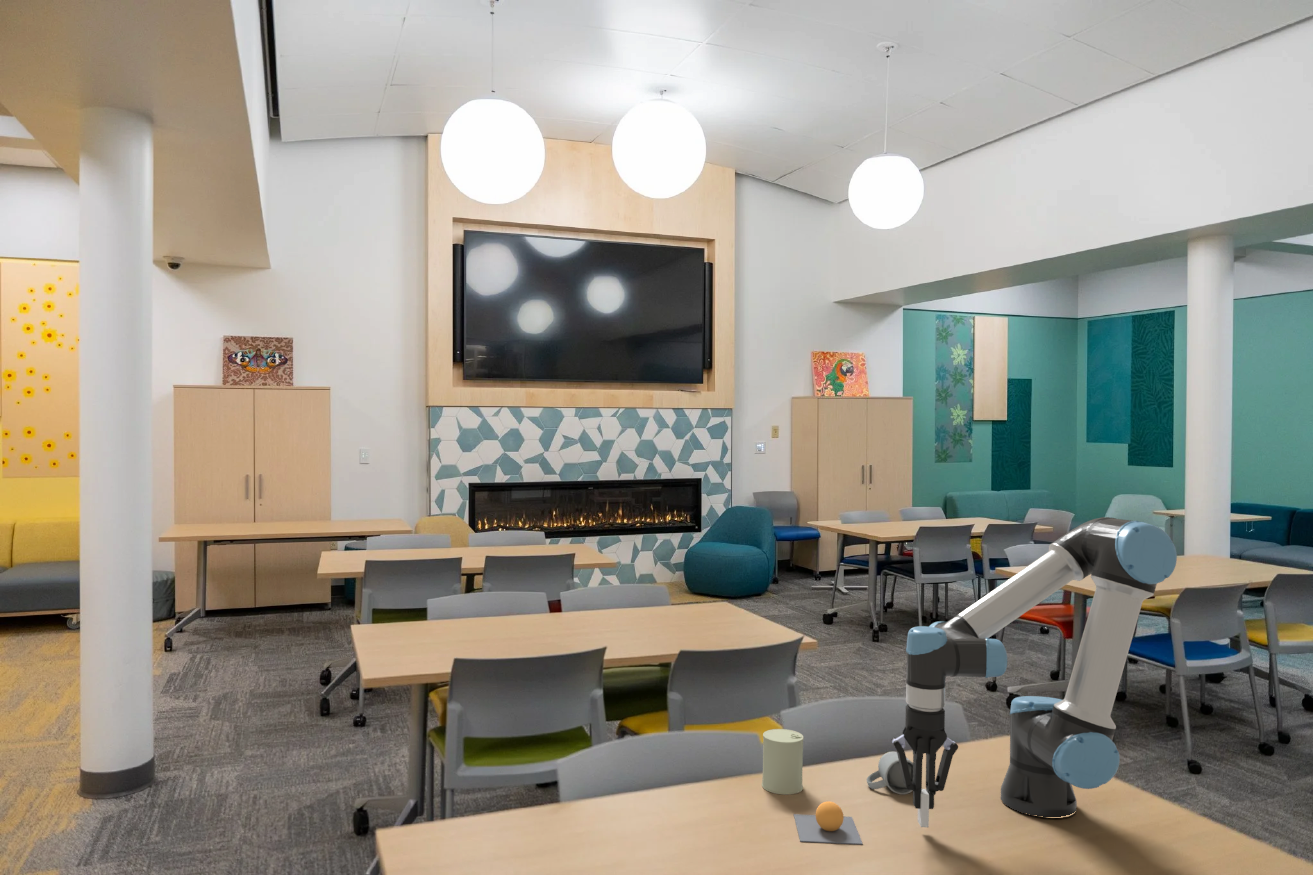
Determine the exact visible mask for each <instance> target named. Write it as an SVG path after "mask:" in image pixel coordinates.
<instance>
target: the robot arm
mask: <svg viewBox="0 0 1313 875" xmlns="http://www.w3.org/2000/svg"><path fill="white" fill-rule="evenodd" d="M1177 554H1178V553H1177V549H1176V546H1175V544H1174V542H1173V541H1172V539H1171V536H1169V534H1168V533H1167V532H1166V531H1165V530H1164V529H1163V528H1161V527H1159V526H1156V525H1155V524H1150V523H1147V522H1144V521H1139V520H1129V519H1122V518H1121V519H1120V518H1114V517H1109V516H1108V517H1107V516H1105V517H1099V518H1097V517H1096V518H1093V519H1091V520H1088V521H1085V522H1084V523H1081V524H1080V525H1078V526H1077V527H1075V528H1073V529H1070V530H1069V531H1068V532H1066V533H1065V534H1063V535H1062V536H1060V537H1059V538H1058V539H1056V540H1055V541H1053V542H1051V543H1050V544H1049V545H1048V551H1047V552H1046V553H1044V554H1043V555H1041V556H1040V557H1039V558H1037V559H1036V560H1034V561H1033V562H1031V563H1030V564H1029V565H1026V567H1024V568H1023V569H1021V570H1020V571H1019V572H1017V573H1016V574H1014V575H1013V576H1011V577H1010V578H1008V579H1007V580H1005V581H1004V582H1002V583H1000V585H998V586H997V587H995V588H994V589H993V590H991V591H989V592H988V593H986V595H984V596H983V597H981V598H980V599H979V600H977V601H976V602H975V601H974V603H972V604H970V606H968V607H967V608H965V609H963V610H962V611H961V612H960V613H958V614H957V615H954V616H953V617H952V618H951V619H949V620H947V621H943V620H942V621H935V622H932V623H931V624H930V625H929V626H926V625H925V626H924V625H922V626H914V627H912V628H910V629H909V630H908V632H907V638H906V648H905V652H906V678H905V679H906V681H905V682H906V684H905V685H906V686H905V702H906V703H907V704H906V705H905V718H904V719H905V721H904V723H905V725H904V728H903V730H902V734H901V735H900V736H897V737H892V738H891V741H890V742H891V743H892V744H893V747H894V748H895V750H896V752H897V755H898V759H899V764H900V768H901V773H902V777H903V782H904V784H905V786H906V788H907V789H908V790H913V791H912V804H913V807H914V809H917V823H918V825H919V826H920V828H929V825H930V822H929V821H930V819H929V818H930V815H929V814H930V813H929V812H930V810H934V809H935V808H934V807H935V795H936V794H937V792H943V791H944V790H945V787H946V784H947V780H948V775H949V771H950V767H951V764H952V761H953V757H954V755H955V753H956V752H957V751H958V749H959V745H958V744H957V742H955V740H954V739H950V738H949V737H948V733H946V731H945V729H946V728H945V726H946V722H945V721H946V718H945V717H946V711H945V709H944V708H945V707H946V683H947V682H946V679H947V677H948V678H949V677H951V678H954V677H957V678H985V679H988V678H995V677H997V678H998V677H1001V676H1003V675H1004V674H1005V673H1006V671H1007V668H1008V654H1007V653H1008V652H1007V649H1006V647H1005V645H1004V644H1003V642H1002V641H1001V640H999V639H996V638H992V636H994V635H995V634H996V633H998V632H999V631H1000V630H1003V628H1005V627H1006V626H1008V625H1009V624H1010V623H1012V622H1014V621H1015V620H1017V619H1018V618H1020V617H1021V616H1023V615H1024V614H1025V613H1027V612H1028V611H1030V610H1032V609H1033V608H1034V607H1036V606H1037V605H1038V604H1040V603H1041V602H1043V601H1044V600H1046V599H1047V598H1048V597H1050V596H1051V595H1053V594H1055V593H1056V592H1058V591H1059V590H1060V589H1062V588H1063V587H1065V586H1066V585H1067V584H1069V583H1070V582H1072V581H1076V582H1080V581H1083V579H1085V578H1086V577H1089V576H1090V578H1091V580H1092V582H1093V583H1094V586H1095V591H1094V594H1093V597H1092V601H1091V604H1090V608H1089V612H1088V615H1087V618H1086V622H1085V626H1084V630H1083V631H1082V632H1083V633H1082V635H1081V639H1080V643H1079V647H1078V651H1077V653H1076V658H1075V659H1074V664H1073V668H1072V671H1071V675H1070V678H1069V681H1068V686H1067V688H1066V692H1065V696H1064V698H1063V699H1061V698H1055V697H1049V696H1038V695H1027V696H1026V695H1025V696H1022V695H1021V696H1016V697H1015V698H1013V699H1012V700H1011V703H1010V704H1011V705H1010V712H1009V716H1010V717H1009V718H1010V719H1009V720H1010V721H1009V723H1010V725H1009V766H1008V768H1007V770H1006V773H1005V775H1004V776H1005V777H1004V778H1003V781H1002V783H1001V786H1000V801H1001V800H1002V801H1003V802H1002V801H1001V802H1002V803H1003V804H1004V805H1005V804H1006V805H1007V807H1008V806H1009V807H1010V808H1009V807H1008V808H1009V809H1011V808H1012V809H1011V810H1013V809H1014V811H1015V810H1017V811H1016V812H1018V811H1019V812H1018V813H1020V812H1022V813H1021V814H1023V813H1027V814H1030V815H1037V816H1043V817H1061V816H1066V815H1070V814H1072V813H1074V812H1075V811H1076V812H1077V809H1076V808H1078V806H1077V804H1078V803H1077V797H1076V794H1075V791H1074V788H1073V787H1076V788H1079V789H1086V790H1090V789H1091V790H1092V789H1097V788H1100V786H1103V785H1106V784H1107V783H1108V782H1110V781H1111V780H1112V779H1113V777H1115V775H1116V773H1117V771H1118V769H1119V767H1120V759H1121V758H1120V756H1121V755H1120V752H1119V751H1118V749H1117V748H1118V747H1117V745H1116V744H1115V742H1114V741H1113V740H1114V737H1115V733H1116V729H1117V726H1116V724H1115V722H1114V720H1113V719H1112V717H1111V714H1112V711H1113V707H1114V703H1115V700H1116V696H1117V693H1118V689H1119V687H1120V686H1119V685H1120V683H1121V682H1120V681H1121V680H1122V675H1123V671H1124V668H1125V665H1126V662H1127V658H1128V655H1129V654H1128V653H1129V652H1130V651H1129V650H1130V647H1131V644H1132V640H1133V637H1134V633H1135V629H1136V627H1137V623H1138V619H1139V616H1140V612H1141V608H1142V605H1143V602H1144V601H1145V600H1147V599H1148V598H1151V597H1153V596H1154V594H1155V591H1156V587H1157V584H1159V583H1163V582H1164V581H1165V580H1166V579H1168V578H1170V576H1172V574H1173V572H1174V571H1175V569H1176V566H1177V558H1178V555H1177ZM990 637H991V638H990ZM906 742H907V744H908V745H909V747H910V748H911V750H912V762H913V782H912V781H911V777H910V773H909V768H908V764H907V759H906V758H907V756H906V752H905V750H904V749H905V748H906ZM942 746H943V750H942V754H941V757H940V762H939V765H938V769H937V773H936V760H937V753H938V751H939V750H940V749H941V747H942ZM924 754H925V788H923V787H922V786H923V760H924ZM1006 805H1005V806H1006ZM1027 814H1026V815H1027ZM1030 815H1029V816H1030Z"/></svg>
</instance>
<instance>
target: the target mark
mask: <svg viewBox="0 0 1313 875" xmlns="http://www.w3.org/2000/svg"><path fill="white" fill-rule="evenodd" d="M843 816H844V815H843ZM793 817H794V821H795V826H796V830H797V833H798V838H799V842H800V843H801V842H802V843H820V844H824V843H825V844H841V845H842V844H844V845H863V842H862V838H861V836H860V834H859V830H858V829H857V826H856V824H855V821H854V818H853V816H844V819H843V823H842V825H841V827H840V828H839V829H837V830H835V831H826V830H824V829H822V828H821V827H820V826H819V824H818V823H817V820H816V814H799V813H793Z"/></svg>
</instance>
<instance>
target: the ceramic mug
mask: <svg viewBox="0 0 1313 875" xmlns="http://www.w3.org/2000/svg"><path fill="white" fill-rule="evenodd" d="M906 759H907V764H908V768H909V773H910V777H911V781H912V782H913V761H911V760H910V759H909V758H908V757H906ZM877 764H878V770H877V771H874V772H872V773H871V774H869V775H868V776H867V778H866V784H867V786H868V788H870V789H872V790H879V789H881V788H882V789H883V788H885V787H888V789H889V790H890V791H891V792H892V793H895V794H898V795H908V794H910V793H911V792H912V793H913V790H908V789H907V788H906V786H905V784H904V782H903V777H902V773H901V768H900V764H899V759H898V755H897V751H888V752H886V753H883V755H882V756H881V757H880V758H879V761H878V763H877ZM880 778H881V780H878V781H875V780H877V779H880Z"/></svg>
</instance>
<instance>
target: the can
mask: <svg viewBox="0 0 1313 875" xmlns="http://www.w3.org/2000/svg"><path fill="white" fill-rule="evenodd" d="M762 739H763V740H762V745H763V746H762V748H763V749H762V781H761V787H762V788H763V789H764V790H765V791H767V792H770V793H772V794H776V795H784V796H785V795H787V796H788V795H795V794H799V793H801V792H802V790H803V789H804V786H803V763H804V762H803V758H804V740H805V738H804V735H803V734H802V733H800V732H798V731H795V730H792V729H786V728H773V729H768V730H766V731H765V730H764V732H763V733H762Z"/></svg>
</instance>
